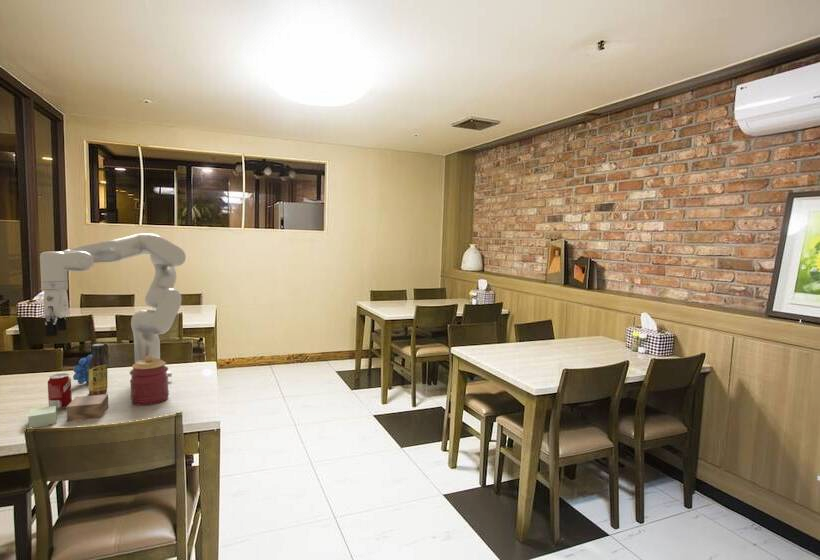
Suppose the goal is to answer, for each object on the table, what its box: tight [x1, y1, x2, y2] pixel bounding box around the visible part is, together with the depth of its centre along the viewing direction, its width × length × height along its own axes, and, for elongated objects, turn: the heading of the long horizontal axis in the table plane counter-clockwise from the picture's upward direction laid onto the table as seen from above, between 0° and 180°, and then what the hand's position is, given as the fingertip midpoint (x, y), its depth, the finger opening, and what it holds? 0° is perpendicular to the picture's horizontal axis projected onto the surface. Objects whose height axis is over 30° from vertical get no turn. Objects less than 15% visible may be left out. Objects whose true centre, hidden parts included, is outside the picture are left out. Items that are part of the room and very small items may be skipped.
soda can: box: [47, 372, 73, 410], centre depth 167 cm, size 7×7×12 cm
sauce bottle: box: [88, 343, 108, 396], centre depth 182 cm, size 7×6×20 cm
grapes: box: [72, 354, 93, 385], centre depth 195 cm, size 12×7×12 cm, turn 156°
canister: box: [129, 355, 170, 406], centre depth 177 cm, size 13×13×18 cm
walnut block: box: [66, 393, 109, 422], centre depth 162 cm, size 10×10×5 cm
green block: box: [27, 406, 57, 429], centre depth 154 cm, size 7×7×4 cm
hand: (56, 333), depth 165 cm, fingers open, 9 cm apart
